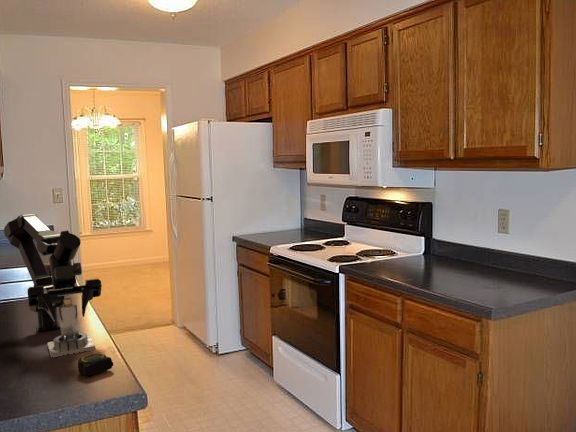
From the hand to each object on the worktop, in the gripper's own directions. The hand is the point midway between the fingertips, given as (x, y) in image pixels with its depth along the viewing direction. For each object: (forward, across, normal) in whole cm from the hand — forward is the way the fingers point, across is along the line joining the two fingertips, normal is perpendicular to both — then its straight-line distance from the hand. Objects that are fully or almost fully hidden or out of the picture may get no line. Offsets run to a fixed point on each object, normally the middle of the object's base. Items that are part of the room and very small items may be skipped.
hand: (69, 318), depth 146 cm
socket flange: (+5, 0, +7) cm, 9 cm away
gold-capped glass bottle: (+4, 0, +6) cm, 8 cm away
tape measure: (+21, +3, -9) cm, 23 cm away
